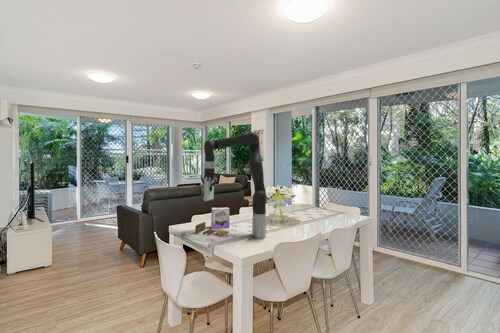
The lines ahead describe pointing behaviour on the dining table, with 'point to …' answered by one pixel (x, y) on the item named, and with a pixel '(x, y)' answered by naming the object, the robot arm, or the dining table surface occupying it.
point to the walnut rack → (201, 228)
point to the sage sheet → (208, 191)
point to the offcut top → (221, 231)
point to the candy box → (220, 218)
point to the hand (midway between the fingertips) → (209, 191)
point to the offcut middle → (221, 235)
